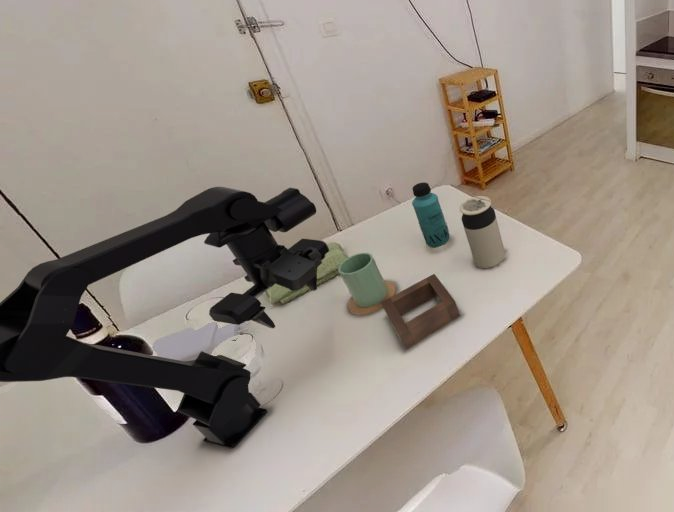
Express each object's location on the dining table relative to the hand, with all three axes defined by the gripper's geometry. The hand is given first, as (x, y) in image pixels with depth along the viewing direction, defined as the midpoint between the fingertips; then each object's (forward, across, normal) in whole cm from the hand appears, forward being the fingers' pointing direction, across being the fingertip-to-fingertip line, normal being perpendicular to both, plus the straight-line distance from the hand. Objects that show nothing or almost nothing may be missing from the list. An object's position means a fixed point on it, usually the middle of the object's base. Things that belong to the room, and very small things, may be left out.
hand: (294, 307), depth 81 cm
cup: (+12, +14, -1) cm, 19 cm away
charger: (+13, -4, +24) cm, 28 cm away
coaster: (+13, +14, -1) cm, 19 cm away
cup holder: (+13, +11, -17) cm, 24 cm away
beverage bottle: (+13, +34, -6) cm, 37 cm away
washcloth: (+13, +18, +21) cm, 31 cm away
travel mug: (+13, +31, -23) cm, 41 cm away
